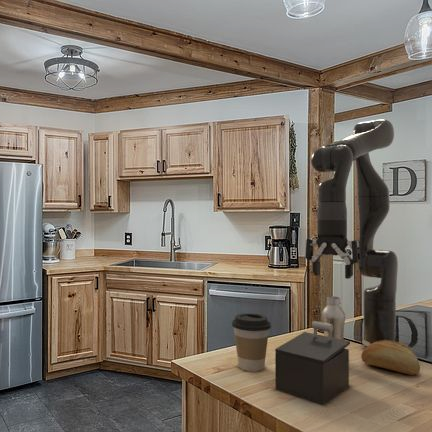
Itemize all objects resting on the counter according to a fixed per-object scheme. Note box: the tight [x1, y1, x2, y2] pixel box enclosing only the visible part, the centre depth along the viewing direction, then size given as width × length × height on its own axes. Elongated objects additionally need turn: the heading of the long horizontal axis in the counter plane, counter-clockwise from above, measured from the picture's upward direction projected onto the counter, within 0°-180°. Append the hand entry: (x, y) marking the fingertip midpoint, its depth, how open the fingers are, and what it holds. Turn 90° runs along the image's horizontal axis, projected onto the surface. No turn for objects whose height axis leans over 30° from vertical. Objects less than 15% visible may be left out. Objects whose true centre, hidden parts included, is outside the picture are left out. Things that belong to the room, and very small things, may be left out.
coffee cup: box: [231, 312, 272, 373], centre depth 128 cm, size 11×11×15 cm
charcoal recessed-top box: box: [274, 348, 350, 406], centre depth 113 cm, size 16×13×10 cm
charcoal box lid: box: [274, 320, 351, 364], centre depth 113 cm, size 16×13×5 cm
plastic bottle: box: [321, 295, 346, 349], centre depth 131 cm, size 6×7×20 cm
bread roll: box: [361, 340, 421, 376], centre depth 125 cm, size 10×15×8 cm, turn 51°
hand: (332, 276), depth 119 cm, fingers open, 8 cm apart
